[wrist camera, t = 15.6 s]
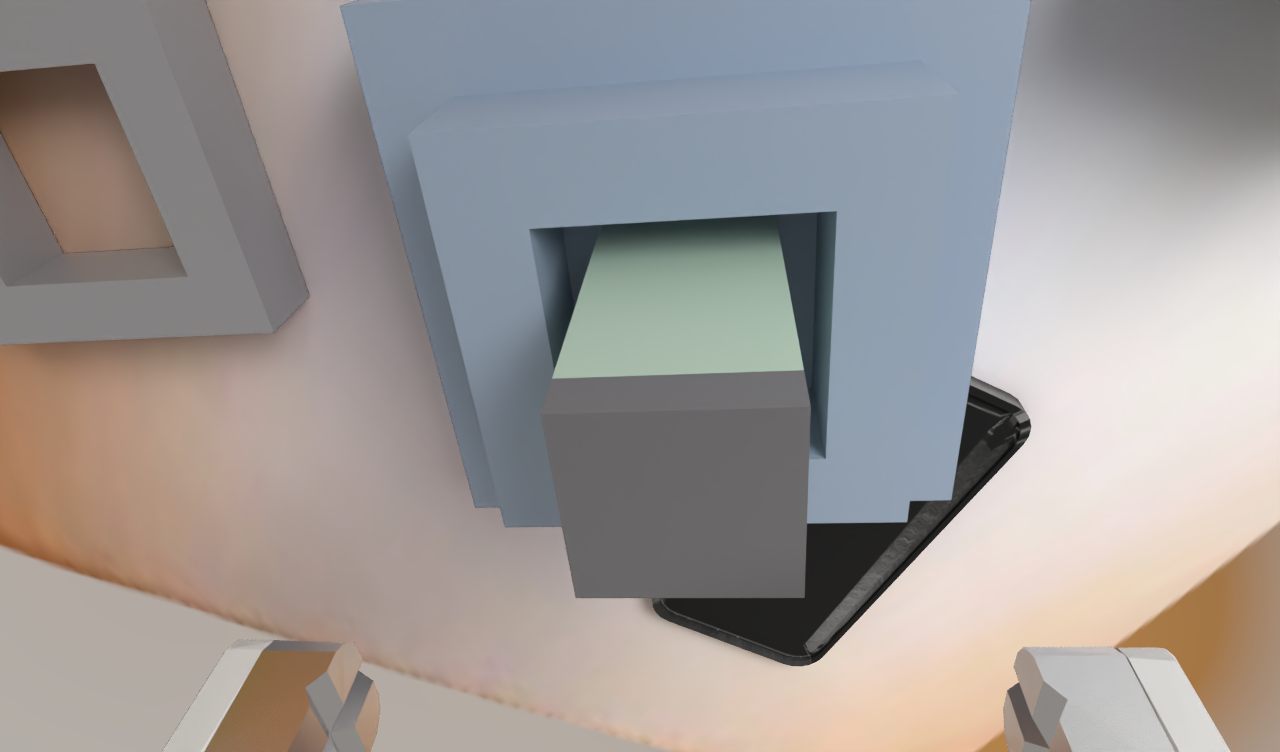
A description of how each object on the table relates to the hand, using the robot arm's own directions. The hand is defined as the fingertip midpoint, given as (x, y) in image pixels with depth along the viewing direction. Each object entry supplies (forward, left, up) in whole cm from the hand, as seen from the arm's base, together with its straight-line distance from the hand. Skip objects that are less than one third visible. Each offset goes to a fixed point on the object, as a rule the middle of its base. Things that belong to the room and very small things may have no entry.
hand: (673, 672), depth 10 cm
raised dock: (0, 0, -16) cm, 16 cm away
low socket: (-3, -18, -16) cm, 24 cm away
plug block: (0, 0, -11) cm, 11 cm away
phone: (+12, +4, -17) cm, 21 cm away
